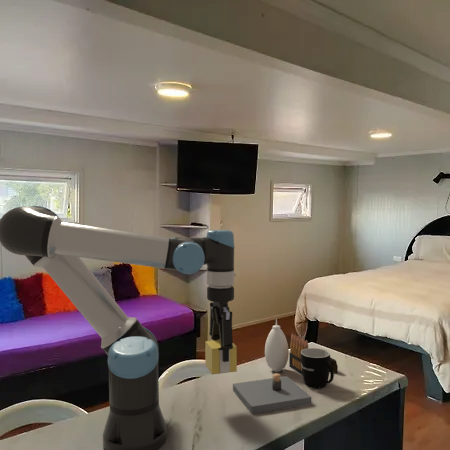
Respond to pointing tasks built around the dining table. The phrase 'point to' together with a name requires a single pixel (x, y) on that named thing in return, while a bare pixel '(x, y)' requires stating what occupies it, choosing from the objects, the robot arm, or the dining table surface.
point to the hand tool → (334, 365)
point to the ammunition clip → (296, 352)
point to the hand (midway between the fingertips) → (220, 367)
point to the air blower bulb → (276, 349)
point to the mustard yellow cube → (213, 356)
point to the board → (271, 394)
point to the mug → (316, 367)
